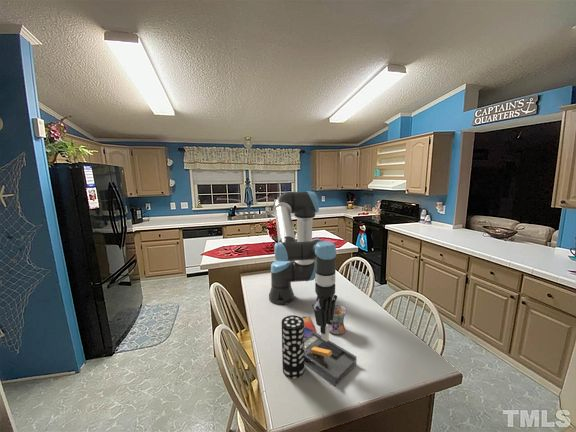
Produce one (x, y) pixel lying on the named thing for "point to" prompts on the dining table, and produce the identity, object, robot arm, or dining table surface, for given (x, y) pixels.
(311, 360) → the dark grey tray
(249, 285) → the dining table surface
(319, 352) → the orange rectangular bar
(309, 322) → the smartphone
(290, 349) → the spotted tube
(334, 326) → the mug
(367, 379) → the dining table surface
